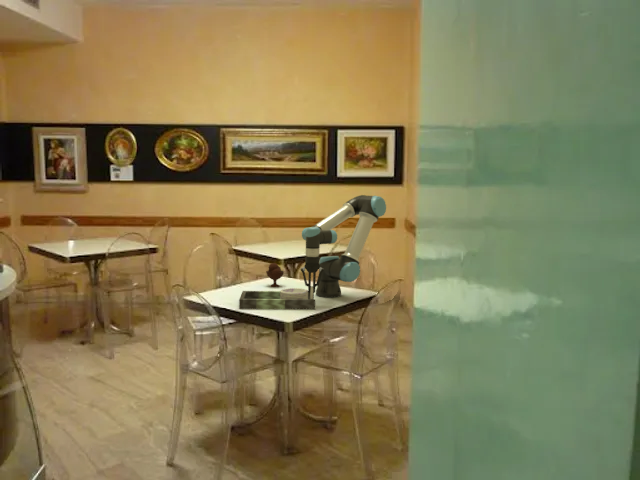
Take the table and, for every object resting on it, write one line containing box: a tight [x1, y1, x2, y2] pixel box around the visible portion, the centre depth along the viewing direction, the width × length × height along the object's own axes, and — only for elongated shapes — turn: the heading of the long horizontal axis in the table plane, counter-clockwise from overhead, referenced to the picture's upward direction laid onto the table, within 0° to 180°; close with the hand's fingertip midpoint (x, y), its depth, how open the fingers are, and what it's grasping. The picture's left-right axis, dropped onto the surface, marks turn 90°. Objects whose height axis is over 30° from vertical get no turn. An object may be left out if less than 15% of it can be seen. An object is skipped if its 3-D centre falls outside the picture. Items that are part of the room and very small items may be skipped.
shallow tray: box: [238, 290, 316, 310], centre depth 314 cm, size 40×22×5 cm, turn 93°
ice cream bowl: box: [265, 262, 285, 288], centre depth 363 cm, size 11×11×15 cm
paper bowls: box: [280, 287, 308, 299], centre depth 314 cm, size 15×15×8 cm
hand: (311, 298), depth 314 cm, fingers closed
